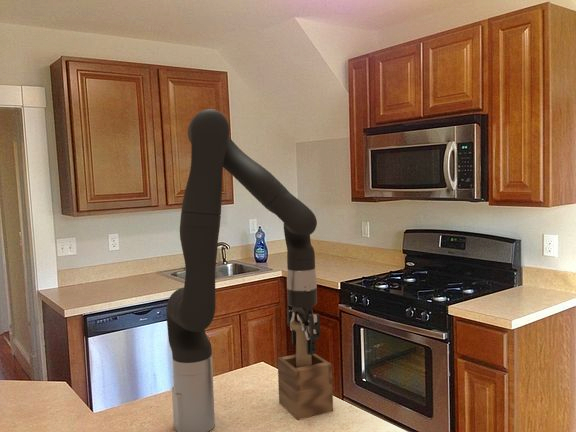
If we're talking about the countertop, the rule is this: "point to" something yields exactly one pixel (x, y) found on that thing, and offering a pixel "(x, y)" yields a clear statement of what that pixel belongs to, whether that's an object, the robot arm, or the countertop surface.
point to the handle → (301, 346)
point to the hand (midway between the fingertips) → (303, 349)
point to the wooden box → (305, 386)
